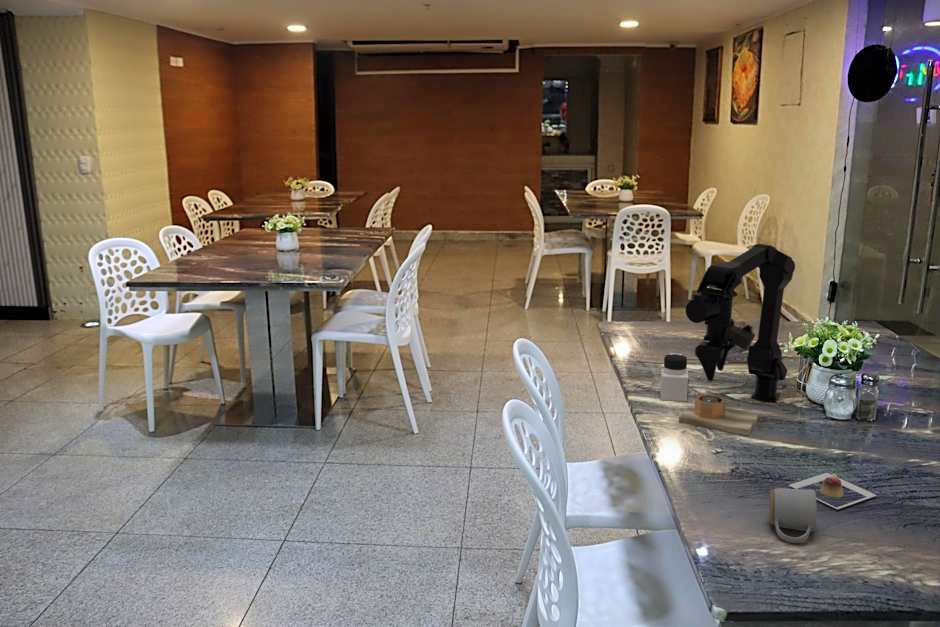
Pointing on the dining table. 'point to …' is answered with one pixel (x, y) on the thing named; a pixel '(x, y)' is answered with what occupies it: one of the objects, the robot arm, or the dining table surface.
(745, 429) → the piston stand
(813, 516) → the ceramic mug
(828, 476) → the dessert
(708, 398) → the piston
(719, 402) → the ring
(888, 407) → the dining table surface
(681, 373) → the medicine bottle
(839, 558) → the dining table surface
